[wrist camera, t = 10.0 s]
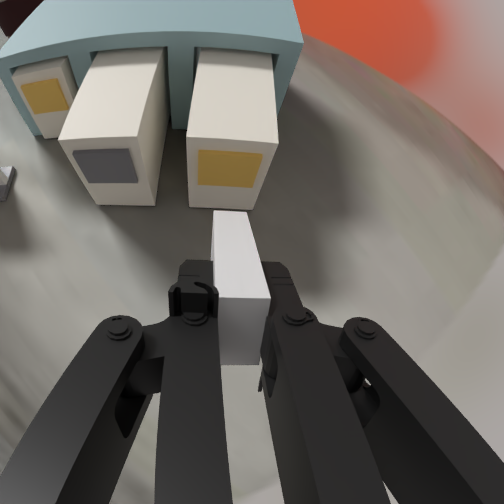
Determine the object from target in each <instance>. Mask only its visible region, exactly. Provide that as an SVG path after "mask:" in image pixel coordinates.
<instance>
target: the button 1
mask: <svg viewBox="0 0 504 504" xmlns="http://www.w3.org/2000/svg"><path fill="white" fill-rule="evenodd" d="M11 78H12V80H13V82H14V84H15V86H16V88H17V90H18V92H19V94H20V96H21V97H22V99H23V101H24V103H25V105H26V107H27V109H28V110H29V112H30V114H31V116H32V118H33V119H34V121H35V123H36V125H37V126H38V128H39V130H40V131H41V133H42V135H43V137H44V138H45V139H48V138H58V137H59V136H60V133H61V131H62V128H63V125H64V123H65V120H66V118H67V116H68V113H69V111H70V108H71V106H72V104H73V102H74V99H75V97H76V95H77V93H78V91H79V88H78V85H77V82H76V79H75V77H74V74H73V70H72V67H71V64H70V61H69V58H68V55H67V56H61V57H56V58H51V59H46V60H41V61H37V62H32V63H28V64H24V65H20V66H18V68H17V69H16V71H15V72H14V74H13V75H12V77H11Z"/></svg>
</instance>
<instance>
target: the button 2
mask: <svg viewBox="0 0 504 504" xmlns="http://www.w3.org/2000/svg"><path fill="white" fill-rule="evenodd" d="M278 144H279V142H278V128H277V114H276V102H275V89H274V78H273V66H272V56H271V53H266V52H258V51H250V50H240V49H229V48H214V47H201V51H200V56H199V61H198V67H197V72H196V78H195V83H194V89H193V95H192V101H191V108H190V114H189V121H188V128H187V135H186V145H187V173H188V194H189V207H202V208H223V209H242V210H253V208H254V205H255V203H256V200H257V197H258V195H259V192H260V190H261V187H262V185H263V182H264V179H265V177H266V174H267V172H268V169H269V167H270V164H271V162H272V159H273V157H274V154H275V151H276V149H277V146H278Z"/></svg>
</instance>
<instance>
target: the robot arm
mask: <svg viewBox="0 0 504 504" xmlns="http://www.w3.org/2000/svg"><path fill="white" fill-rule="evenodd" d="M168 296H169V313H170V316H169V317H168V318H167V319H165V320H164V321H162V322H160V323H157V324H153V325H147V326H142V325H141V323H140V322H138V321H137V320H136V319H134V318H132V317H130V316H123V315H118V316H112V317H109V318H107V319H105V320H103V321H102V322H101V323H100V324H99V325H98V326H97V327H96V328H95V330H94V331H93V333H92V334H91V335H90V337H89V338H88V339H87V341H86V342H85V343H84V345H83V346H82V348H81V349H80V350H79V352H78V353H77V355H76V356H75V357H74V359H73V360H72V362H71V363H70V365H69V366H68V367H67V369H66V370H65V372H64V373H63V375H62V376H61V378H60V379H59V381H58V382H57V384H56V385H55V387H54V388H53V390H52V391H51V393H50V394H49V396H48V397H47V399H46V400H45V402H44V403H43V405H42V406H41V408H40V410H39V411H38V413H37V414H36V416H35V418H34V419H33V421H32V422H31V424H30V426H29V427H28V429H27V431H26V432H25V434H24V436H23V437H22V439H21V441H20V442H19V444H18V446H17V447H16V449H15V451H14V453H13V454H12V456H11V458H10V460H9V462H8V463H7V465H6V467H5V469H4V471H3V473H2V474H1V476H0V504H109V502H110V499H111V497H112V494H113V492H114V489H115V486H116V484H117V481H118V479H119V476H120V474H121V471H122V469H123V466H124V464H125V461H126V459H127V456H128V454H129V451H130V449H131V447H132V444H133V442H134V439H135V437H136V434H137V432H138V430H139V427H140V425H141V422H142V420H143V418H144V415H145V413H146V411H147V408H148V406H149V404H150V401H151V399H152V396H153V394H154V393H159V392H161V395H160V406H159V418H158V432H157V448H156V468H155V503H154V504H233V501H232V492H231V483H230V473H229V463H228V453H227V442H226V431H225V419H224V407H223V394H222V380H221V366H220V365H259V361H260V356H261V358H262V363H263V367H262V372H261V376H260V381H259V386H258V392H261V391H262V387H263V391H264V397H265V402H266V408H267V413H268V419H269V424H270V430H271V435H272V440H273V446H274V451H275V456H276V461H277V467H278V472H279V477H280V482H281V487H282V492H283V498H284V503H285V504H391V503H390V500H389V497H388V494H387V492H386V489H385V486H384V483H385V484H386V486H387V487H388V489H389V490H390V492H391V493H392V495H393V496H394V497H395V499H396V500H397V502H398V503H399V504H504V463H503V462H502V460H501V459H500V458H499V457H498V456H497V454H496V453H495V452H494V451H493V450H492V448H491V447H490V446H489V445H488V444H487V442H486V441H485V440H484V439H483V438H482V436H481V435H480V434H479V433H478V432H477V431H476V430H475V429H474V427H473V426H472V425H471V424H470V423H469V421H468V420H467V419H466V418H465V417H464V416H463V415H462V414H461V412H460V411H459V410H458V409H457V408H456V407H455V406H454V405H453V404H452V402H451V401H450V400H449V399H448V398H447V397H446V396H445V394H444V393H443V392H442V391H441V390H440V389H439V388H438V387H437V386H436V384H435V383H434V382H433V381H432V380H431V379H430V378H429V377H428V376H427V375H426V374H425V373H424V371H423V370H422V369H421V368H420V367H419V366H418V365H417V364H416V363H415V362H414V361H413V359H412V358H411V357H410V356H409V355H408V354H407V353H406V352H405V351H404V350H403V349H402V348H401V347H400V346H399V345H398V344H397V343H396V341H395V340H394V339H393V338H392V337H391V336H390V335H389V334H388V333H387V332H386V331H385V330H384V329H383V328H382V327H381V326H380V325H379V324H377V323H376V322H374V321H372V320H370V319H367V318H362V317H355V318H351V319H349V320H347V321H346V323H345V324H344V327H343V328H340V327H334V326H329V325H325V324H322V323H319V321H318V319H317V317H316V316H315V314H314V313H313V312H312V311H310V310H309V309H307V308H305V307H303V305H302V303H301V300H300V298H299V295H298V293H297V291H296V288H295V286H294V283H293V281H292V279H291V276H290V273H289V271H288V269H287V268H286V267H285V266H283V265H282V264H281V263H280V262H261V261H260V258H259V254H258V251H257V247H256V244H255V240H254V237H253V233H252V230H251V226H250V223H249V219H248V216H247V212H236V211H217V210H214V212H213V228H212V245H211V261H208V260H186V261H185V262H184V263H183V264H182V265H181V266H180V270H179V276H178V282H177V283H175V284H174V285H172V286H171V288H170V290H169V291H168ZM365 379H367V380H368V381H369V382H370V384H371V385H369V384H367V383H366V381H365ZM382 480H383V481H382ZM383 482H384V483H383Z"/></svg>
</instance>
